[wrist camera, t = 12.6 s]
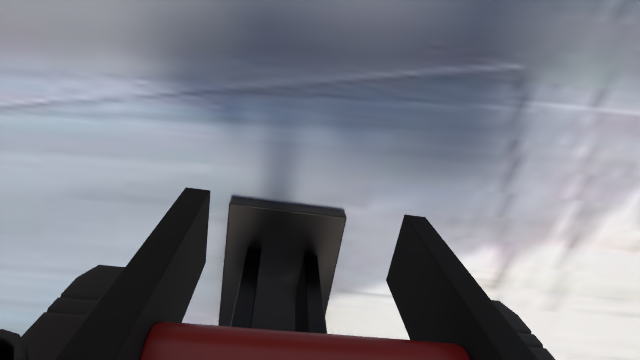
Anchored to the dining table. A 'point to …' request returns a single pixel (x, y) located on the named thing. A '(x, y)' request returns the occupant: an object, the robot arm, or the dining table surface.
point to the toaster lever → (283, 345)
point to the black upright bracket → (279, 265)
